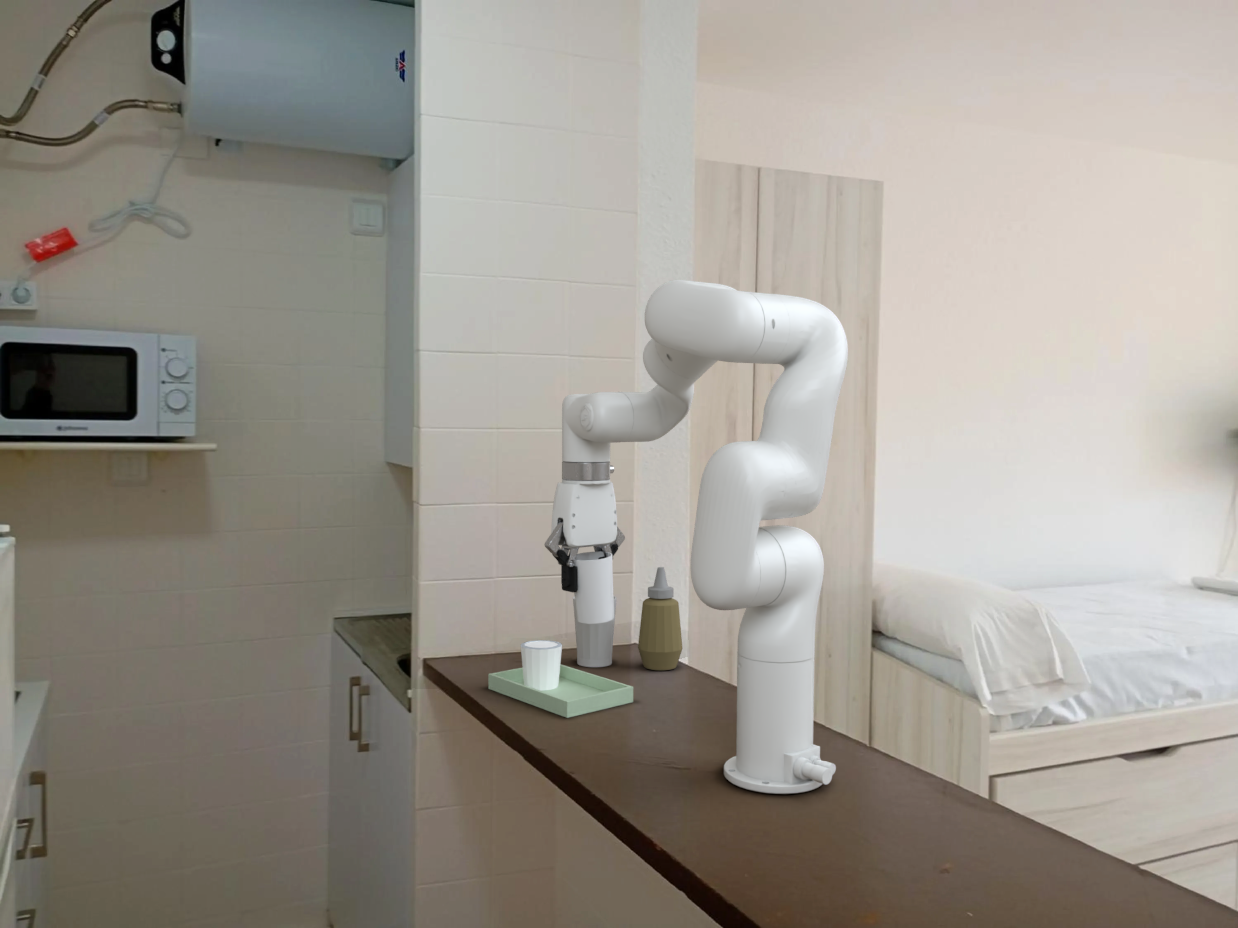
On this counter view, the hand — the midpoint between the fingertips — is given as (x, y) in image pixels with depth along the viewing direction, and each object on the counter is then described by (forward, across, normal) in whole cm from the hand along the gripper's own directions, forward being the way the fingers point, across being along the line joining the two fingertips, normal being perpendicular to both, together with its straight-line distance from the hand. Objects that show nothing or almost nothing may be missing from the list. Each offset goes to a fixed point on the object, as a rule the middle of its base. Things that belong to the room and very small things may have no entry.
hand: (585, 587), depth 161 cm
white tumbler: (+5, -1, +1) cm, 5 cm away
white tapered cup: (+18, +1, -11) cm, 21 cm away
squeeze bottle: (+18, -24, -9) cm, 32 cm away
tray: (+18, +1, -6) cm, 19 cm away
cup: (+19, -17, -19) cm, 32 cm away
